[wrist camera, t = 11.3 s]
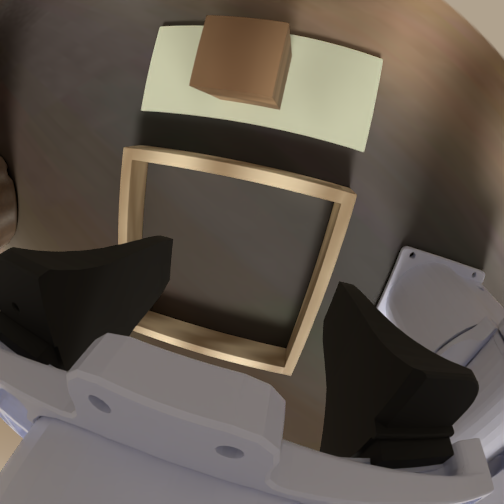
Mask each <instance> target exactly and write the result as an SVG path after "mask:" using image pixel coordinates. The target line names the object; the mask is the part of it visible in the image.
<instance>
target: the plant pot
mask: <svg viewBox="0 0 504 504" xmlns="http://www.w3.org/2000/svg"><path fill="white" fill-rule="evenodd" d="M16 226H17V202H16V194H15V188H14V184H13V180H12V179H11V178H10V177H9V176H8V173H7V164H6V162H5V161H4V159H3V158H2V157H1V156H0V249H1V248H2V247H3V246H5V245H7V244H8V243H9V242H10V240H11V239H12V237H13V236H14V234H15V231H16Z"/></svg>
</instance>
